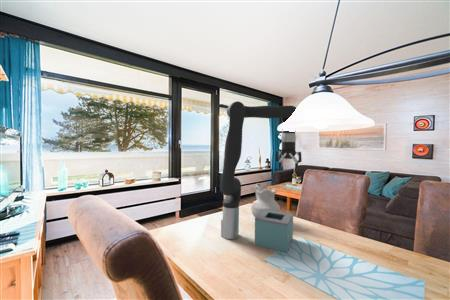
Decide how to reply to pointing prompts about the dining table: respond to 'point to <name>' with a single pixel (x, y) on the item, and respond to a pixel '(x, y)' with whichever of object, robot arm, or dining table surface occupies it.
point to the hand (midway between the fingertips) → (288, 169)
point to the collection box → (274, 230)
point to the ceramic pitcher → (264, 201)
